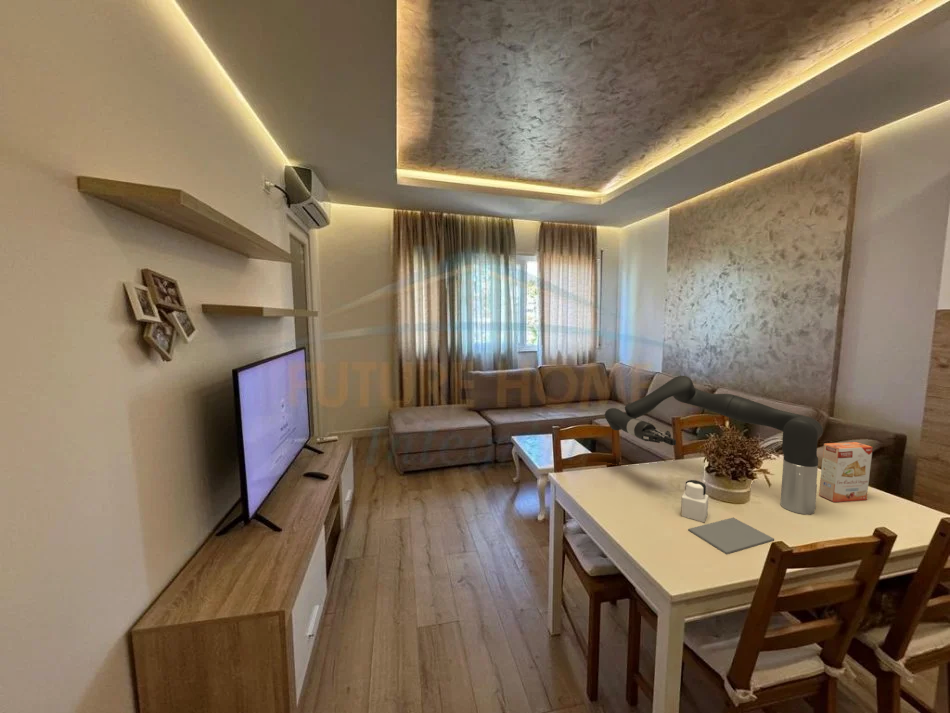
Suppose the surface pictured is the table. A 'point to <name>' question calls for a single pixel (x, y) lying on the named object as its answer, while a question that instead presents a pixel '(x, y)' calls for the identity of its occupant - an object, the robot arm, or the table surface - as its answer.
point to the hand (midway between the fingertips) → (674, 442)
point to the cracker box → (845, 471)
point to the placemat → (730, 535)
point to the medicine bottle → (695, 501)
